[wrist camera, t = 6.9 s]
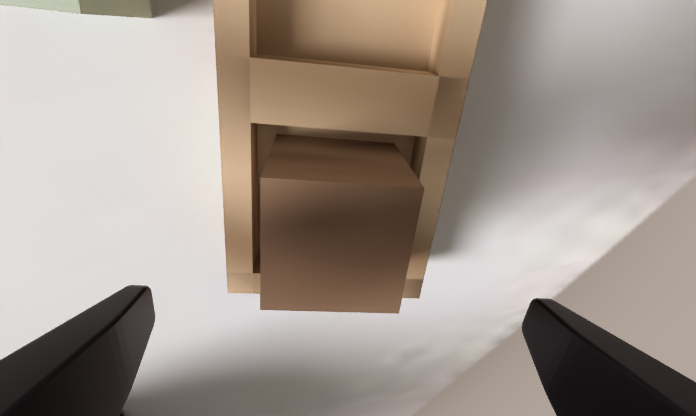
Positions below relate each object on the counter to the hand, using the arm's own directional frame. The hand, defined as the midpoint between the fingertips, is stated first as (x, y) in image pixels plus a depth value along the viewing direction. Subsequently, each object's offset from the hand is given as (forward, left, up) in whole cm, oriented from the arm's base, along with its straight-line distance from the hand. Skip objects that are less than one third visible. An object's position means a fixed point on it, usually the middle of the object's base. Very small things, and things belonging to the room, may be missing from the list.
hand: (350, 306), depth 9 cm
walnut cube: (0, 0, -7) cm, 7 cm away
